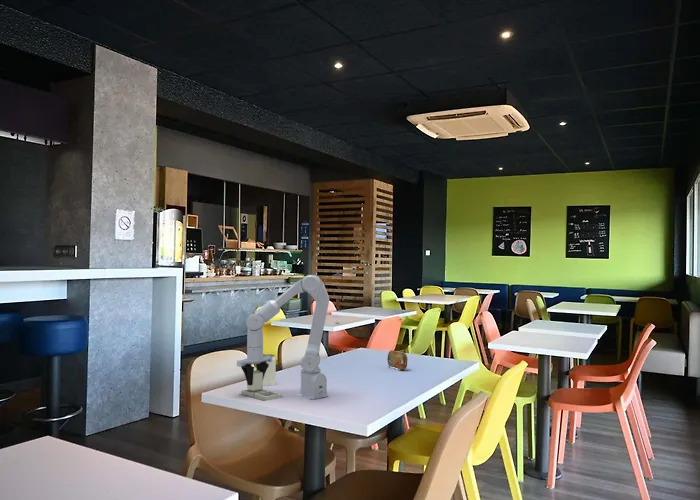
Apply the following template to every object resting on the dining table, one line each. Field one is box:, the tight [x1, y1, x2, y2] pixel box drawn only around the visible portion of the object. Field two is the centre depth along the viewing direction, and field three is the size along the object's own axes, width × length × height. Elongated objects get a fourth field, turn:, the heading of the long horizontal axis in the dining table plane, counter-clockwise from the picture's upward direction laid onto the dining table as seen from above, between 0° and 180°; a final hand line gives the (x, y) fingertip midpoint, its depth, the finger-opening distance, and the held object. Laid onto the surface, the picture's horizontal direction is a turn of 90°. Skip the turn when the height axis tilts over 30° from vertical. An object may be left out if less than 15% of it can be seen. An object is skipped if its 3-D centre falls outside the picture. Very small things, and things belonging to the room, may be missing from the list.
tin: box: [387, 350, 408, 371], centre depth 257 cm, size 15×3×8 cm, turn 25°
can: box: [263, 353, 277, 387], centre depth 217 cm, size 6×6×12 cm
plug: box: [246, 369, 264, 391], centre depth 199 cm, size 4×4×7 cm
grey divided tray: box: [238, 388, 284, 402], centre depth 196 cm, size 15×9×2 cm, turn 46°
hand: (254, 384), depth 199 cm, fingers closed on plug, 4 cm apart
